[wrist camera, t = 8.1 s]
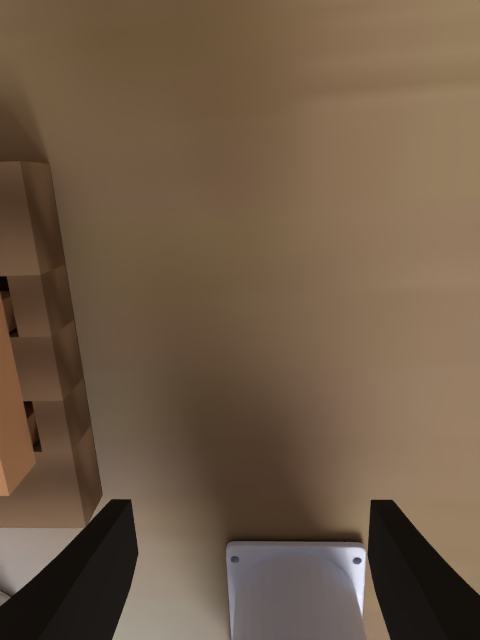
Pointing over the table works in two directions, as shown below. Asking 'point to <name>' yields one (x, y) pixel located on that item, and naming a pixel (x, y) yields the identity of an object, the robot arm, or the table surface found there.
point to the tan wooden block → (13, 410)
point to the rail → (45, 357)
